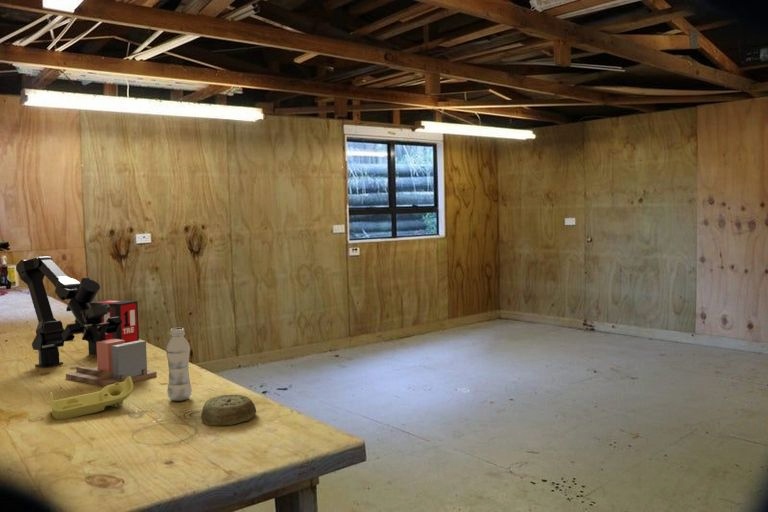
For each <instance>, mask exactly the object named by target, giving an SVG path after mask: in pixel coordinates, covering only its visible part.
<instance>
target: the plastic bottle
mask: <svg viewBox="0 0 768 512" xmlns="http://www.w3.org/2000/svg"><path fill="white" fill-rule="evenodd" d="M185 335H186V333H185V327H173V328H170V337H171V338H170V339H169V341H168V343H167V345H166V347H165V352H166V357H167V362H168V363H167V365H168V383H167V390H166V391H167V397H168V398H169V400H170V401H174V402H181V401H185V400H189V398H191V395H192V391H193V390H192V384H191V379H190V371H189V368H190V364H189V363H190V362H189V360H190V352H191V351H190V350H191V346H190V343H189V342H188V340H187V339H186V338H185Z"/></svg>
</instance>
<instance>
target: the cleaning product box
mask: <svg viewBox="0 0 768 512" xmlns="http://www.w3.org/2000/svg"><path fill="white" fill-rule="evenodd" d="M103 303H108V304H109V305H110V308H111V311H110V312H109V313H108V314H105V315H104V316H103V320H102V321H100V323H105V322H106V321H107V320H108V318H112V317H120V318H121V319H122V321H123V322H122V324H121V326H120V327H119V329H118V331H117V332H115V333H110V334H107V333H105V339H106V340H109V339H120V340H125V343H128V342H133V341H138V340H140V331H139V309H138V308H139V307H138V306H139V305H138V300H123V299H122V300H121V299H120V300H119V299H102V300H101V299H100V300H95V301H94V300H93V301H92V302H90V303H89V305H90V306H91V307H92V306H96V305H103ZM87 342H88V341H87ZM87 344H88V346H87V348H88V355H89V356H91V355H93V356H97V346H96V345H95V344H93V343H90V342H88V343H87Z"/></svg>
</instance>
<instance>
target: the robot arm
mask: <svg viewBox="0 0 768 512" xmlns="http://www.w3.org/2000/svg"><path fill="white" fill-rule="evenodd" d="M15 269H16V272H17V273H18V276H19V278H20V280H21V281H22V282H23V283H24V284H26V285H27V288H28V290H29V294H30V297H31V301H32V304H33V308H34V311H35V316H36V318H37V322H38V323H37V327H36V329H35V335H36V336H35V337H34V338H33V341H32V343H31V347H32V350H34V351H38V363H37V364H34V366H35V367H39V368H40V367H41V368H50V367H55V366H59V365H62V364H64V362H63V361H60V351H59V350H60V349H59V348H60V347H64V344H65V342H70V341H73V340H74V339H75V335H80V334H81V335H82V337H81V341H86V342H90V343H93V344H95V345H96V346H97V344H96V342H98V341H103V340H106V339H105V333H107V334H110V333H115V332H117V331H118V329H119V327H120V326H121V324H122V322H123V321H122V319H121V318H120V317H112V318H108V320H107V321H106V322H105V323H100V321H102V320H103V316H104V315H105V314H108V313H109V312H110V311H111V308H110V305H109V304H108V303H103V305H96V306H92V307H91V306H90V305H89V303H90V302H94V300H95V298H96V296H97V294H98V293H99V291H100V289H101V286H100V283H98V282H97V281H95V280H94V279H90V277H82V278H81V280H80V281H78V280H77V279H75V278H71V277H69V276H68V275H67V274H65V272H64V271H63V270H62V269H61V268H60V267H59V266H58V265H57V264H56V263H55V262H54V261H53V258H52V257H51V256H50V255H49V256H46V255H45V256H36V257H34V258H30V259H21V260H19V262H18V263H17V264H16V266H15ZM45 277H46V278H47V279H48V280H49V282H50V283H51V284H52V285H53V286H54V288H55V289H54V293H55V295H56V296H57V298H59V300H60V301H69V302H68V303H67V306H66V310H65V311H66V312H71V313H72V314H73V316H74V318H75V319H74V322H73V323H69V324H66V326H65V328H64V326H63V322H62V321H61V320H57V319H56V318H55V317H54V314H53V310H52V308H51V304H50V301H49V300H50V299H49V297H48V294H47V290H46V286H45V283H44V279H45Z"/></svg>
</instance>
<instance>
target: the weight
mask: <svg viewBox="0 0 768 512" xmlns="http://www.w3.org/2000/svg"><path fill="white" fill-rule="evenodd" d="M256 414H257V408H256V405H255V403H254V402H253V401H252V399H251V398H250V397H248V396H246V395H242V394H224V395H223V394H222V395H218V396H214V397H211V398H209V399H207V400H206V401H205V402H204V404H203V407H202V410H201V416H200V417H201V422H202V423H203V424H206V425H208V426H210V427H211V426H213V427H219V426H220V427H221V426H233V425H236V424H237V425H238V424H239V423H243V422H248V421H249V420H251V419H252V418H253V417H254V416H256Z"/></svg>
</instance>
